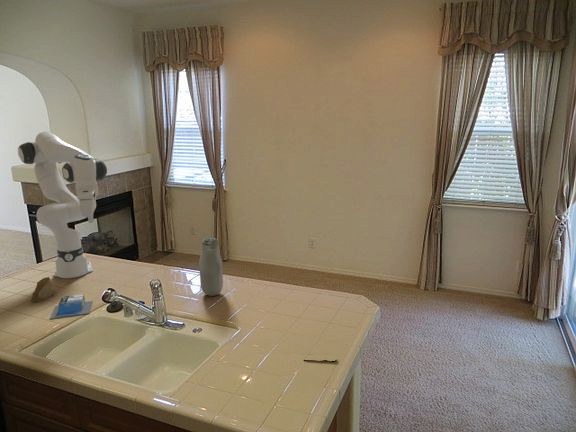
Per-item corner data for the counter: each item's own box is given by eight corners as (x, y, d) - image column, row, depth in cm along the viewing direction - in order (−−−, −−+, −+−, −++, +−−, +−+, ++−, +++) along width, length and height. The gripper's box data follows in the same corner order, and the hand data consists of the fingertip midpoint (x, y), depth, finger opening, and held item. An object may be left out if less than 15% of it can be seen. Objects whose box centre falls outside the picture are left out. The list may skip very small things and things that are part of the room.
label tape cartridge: (84, 293, 184) (79, 305, 173) (85, 301, 185) (80, 313, 174) (62, 296, 182) (56, 308, 170) (63, 304, 183) (57, 317, 171)
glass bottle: (197, 297, 190) (193, 239, 183) (209, 288, 199) (206, 233, 192) (215, 300, 186) (212, 241, 179) (227, 291, 195) (224, 235, 188)
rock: (31, 301, 181) (56, 292, 187) (24, 284, 183) (49, 275, 189) (32, 307, 190) (55, 298, 196) (25, 291, 192) (49, 282, 197)
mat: (55, 306, 181) (55, 306, 181) (92, 301, 186) (92, 301, 186) (49, 319, 170) (49, 318, 170) (89, 313, 175) (89, 312, 175)
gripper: (82, 188, 191) (86, 217, 194) (76, 196, 172) (80, 228, 175) (97, 187, 193) (101, 216, 196) (92, 195, 174) (96, 226, 177)
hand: (91, 221), depth 186 cm, fingers closed
